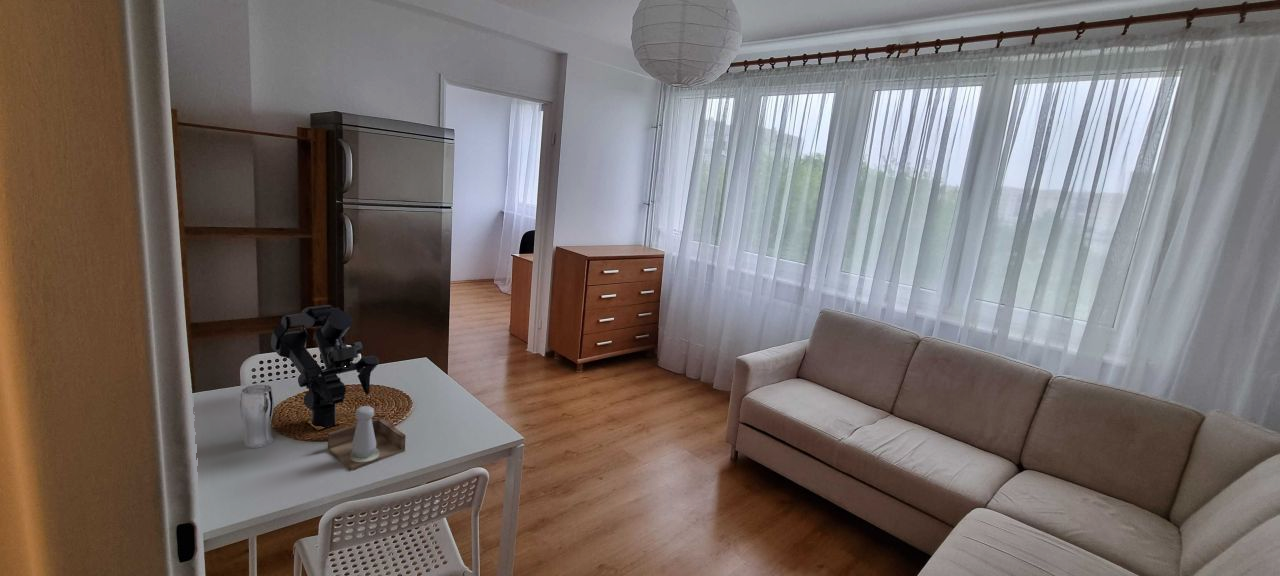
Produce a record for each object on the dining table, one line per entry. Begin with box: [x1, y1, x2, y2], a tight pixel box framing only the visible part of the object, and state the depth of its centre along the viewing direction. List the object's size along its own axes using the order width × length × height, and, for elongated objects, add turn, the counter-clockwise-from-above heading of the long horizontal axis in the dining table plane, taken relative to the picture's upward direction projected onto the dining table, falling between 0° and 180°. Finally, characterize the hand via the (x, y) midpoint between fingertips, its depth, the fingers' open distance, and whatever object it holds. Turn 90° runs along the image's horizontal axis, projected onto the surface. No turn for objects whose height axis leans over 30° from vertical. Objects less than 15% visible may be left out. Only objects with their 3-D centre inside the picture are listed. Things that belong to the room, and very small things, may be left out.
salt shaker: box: [351, 405, 376, 458], centre depth 135 cm, size 6×6×13 cm
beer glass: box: [239, 383, 275, 449], centre depth 136 cm, size 7×7×15 cm
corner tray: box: [327, 417, 406, 471], centre depth 140 cm, size 13×14×5 cm
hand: (350, 398), depth 139 cm, fingers open, 9 cm apart
